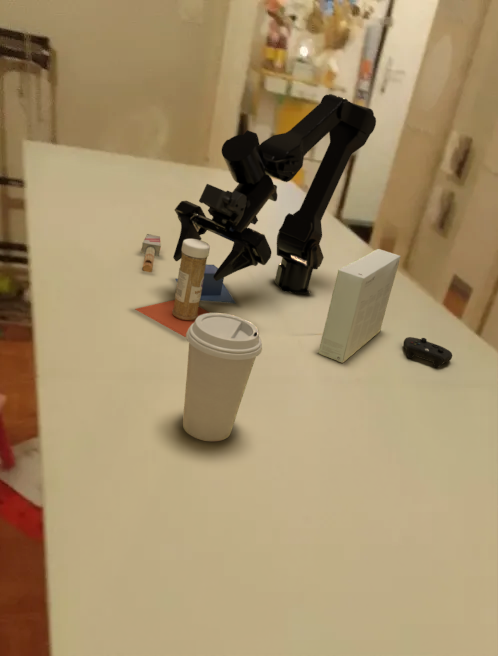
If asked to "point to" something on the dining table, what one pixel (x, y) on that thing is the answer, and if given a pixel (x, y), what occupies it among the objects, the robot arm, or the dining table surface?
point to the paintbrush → (150, 250)
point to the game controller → (427, 351)
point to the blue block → (211, 282)
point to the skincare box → (358, 304)
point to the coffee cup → (217, 373)
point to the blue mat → (219, 296)
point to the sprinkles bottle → (190, 279)
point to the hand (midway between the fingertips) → (194, 269)
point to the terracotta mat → (169, 316)
